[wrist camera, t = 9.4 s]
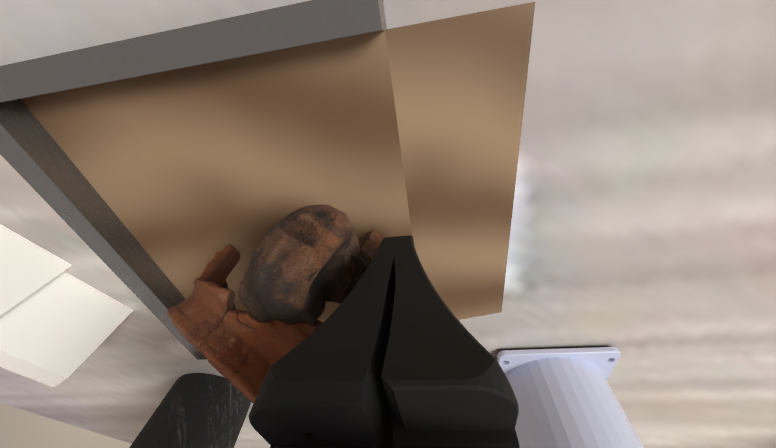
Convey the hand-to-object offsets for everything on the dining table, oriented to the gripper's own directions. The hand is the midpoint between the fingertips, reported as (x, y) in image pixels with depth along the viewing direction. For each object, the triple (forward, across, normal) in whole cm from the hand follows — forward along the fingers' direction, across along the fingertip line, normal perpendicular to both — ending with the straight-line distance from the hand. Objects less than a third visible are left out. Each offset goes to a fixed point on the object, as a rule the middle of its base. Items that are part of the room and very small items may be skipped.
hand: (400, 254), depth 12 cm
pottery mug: (+2, +5, +2) cm, 5 cm away
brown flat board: (+3, +4, 0) cm, 5 cm away
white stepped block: (+4, +24, +2) cm, 24 cm away
